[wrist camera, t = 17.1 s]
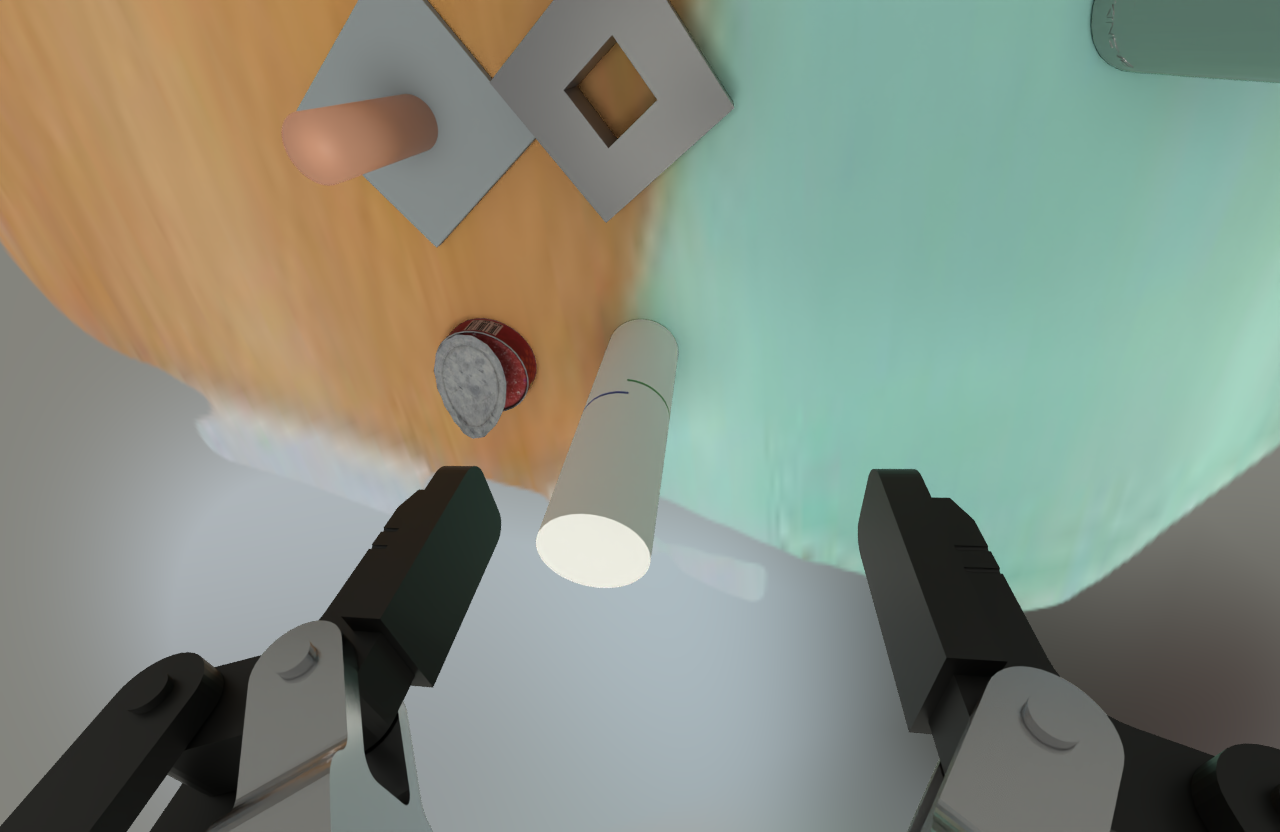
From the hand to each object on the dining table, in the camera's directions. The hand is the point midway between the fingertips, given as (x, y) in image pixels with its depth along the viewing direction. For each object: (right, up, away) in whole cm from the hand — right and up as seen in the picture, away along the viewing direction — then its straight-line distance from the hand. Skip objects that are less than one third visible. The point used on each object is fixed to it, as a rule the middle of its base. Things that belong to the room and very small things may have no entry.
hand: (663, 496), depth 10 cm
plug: (-19, +25, +29) cm, 42 cm away
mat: (-18, +25, +29) cm, 43 cm away
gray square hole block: (-2, +26, +26) cm, 37 cm away
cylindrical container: (0, +8, +40) cm, 41 cm away
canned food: (-16, +8, +43) cm, 47 cm away
